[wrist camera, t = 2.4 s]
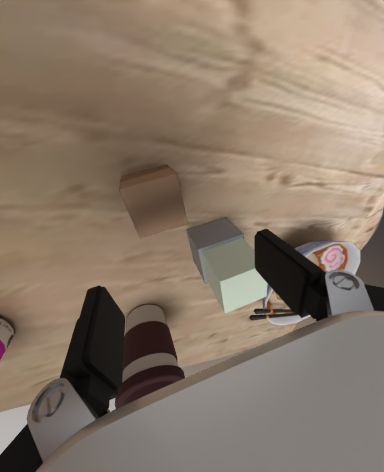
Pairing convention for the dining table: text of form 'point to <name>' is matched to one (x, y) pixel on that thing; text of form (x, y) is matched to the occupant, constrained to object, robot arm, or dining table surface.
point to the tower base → (211, 239)
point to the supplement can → (5, 336)
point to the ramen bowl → (322, 255)
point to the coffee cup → (147, 355)
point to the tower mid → (234, 274)
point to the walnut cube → (153, 200)
